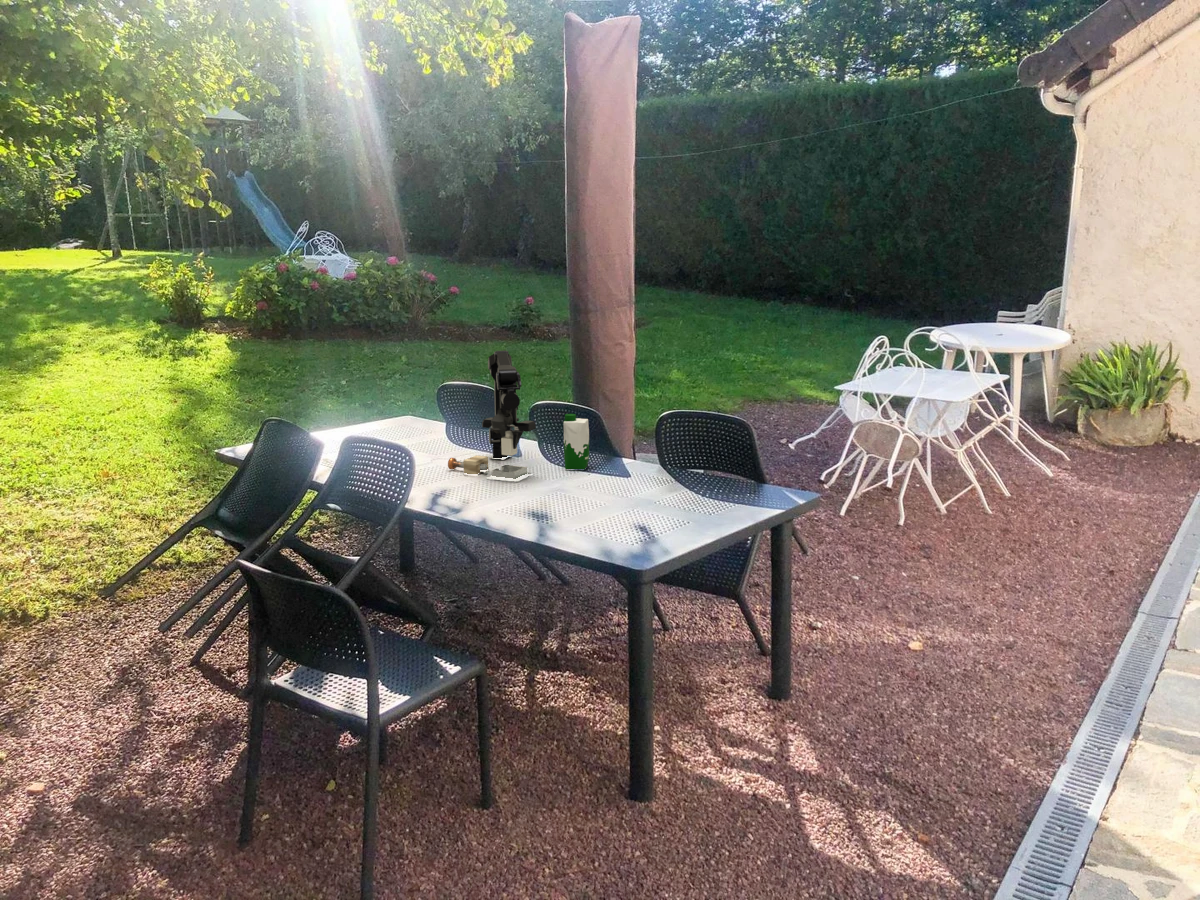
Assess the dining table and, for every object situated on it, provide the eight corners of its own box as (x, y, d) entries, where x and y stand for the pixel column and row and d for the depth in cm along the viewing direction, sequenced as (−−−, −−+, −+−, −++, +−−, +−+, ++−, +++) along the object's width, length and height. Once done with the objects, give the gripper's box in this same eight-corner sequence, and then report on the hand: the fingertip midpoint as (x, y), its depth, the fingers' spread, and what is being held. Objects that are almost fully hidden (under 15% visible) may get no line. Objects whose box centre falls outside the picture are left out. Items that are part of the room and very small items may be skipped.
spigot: (507, 452, 338) (506, 430, 336) (517, 453, 336) (516, 431, 334) (501, 454, 334) (501, 432, 332) (511, 455, 332) (510, 433, 331)
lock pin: (454, 467, 349) (454, 456, 348) (488, 471, 343) (488, 460, 342) (448, 470, 345) (447, 459, 344) (482, 474, 339) (482, 462, 338)
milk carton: (566, 465, 354) (566, 412, 349) (590, 466, 352) (590, 412, 348) (562, 470, 345) (561, 416, 341) (586, 471, 344) (586, 417, 339)
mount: (476, 469, 347) (476, 455, 346) (488, 471, 345) (488, 456, 344) (463, 475, 340) (463, 460, 338) (475, 476, 338) (475, 461, 336)
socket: (504, 471, 344) (503, 463, 344) (533, 474, 339) (532, 466, 339) (486, 479, 334) (486, 470, 333) (516, 482, 329) (516, 474, 328)
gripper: (472, 406, 328) (474, 450, 331) (520, 410, 320) (521, 455, 324) (489, 401, 338) (491, 444, 341) (536, 405, 330) (536, 449, 333)
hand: (509, 448), depth 334 cm, fingers closed on spigot, 4 cm apart
